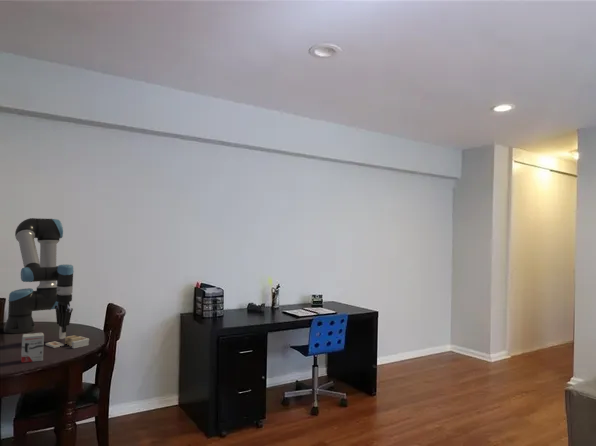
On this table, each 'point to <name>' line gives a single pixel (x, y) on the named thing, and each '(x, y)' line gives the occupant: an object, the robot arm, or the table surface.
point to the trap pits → (57, 344)
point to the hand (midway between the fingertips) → (62, 338)
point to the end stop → (80, 343)
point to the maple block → (71, 339)
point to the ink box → (32, 347)
